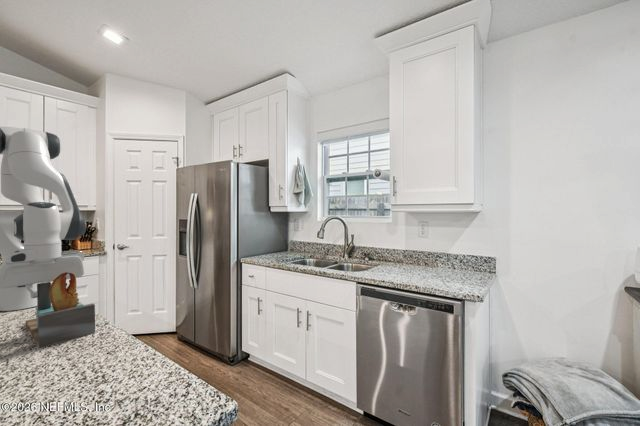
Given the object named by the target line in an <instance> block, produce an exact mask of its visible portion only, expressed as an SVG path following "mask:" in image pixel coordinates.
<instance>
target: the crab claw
mask: <svg viewBox="0 0 640 426" xmlns="http://www.w3.org/2000/svg"><path fill="white" fill-rule="evenodd" d="M67 274H69V275H70V279H67V278H66V275H67ZM67 280H68V282H69V284H68V283H67ZM49 294H50V300H51V306H52V307H53V310H54V311H59V310H64V309H69V308H73V307H77V304H79V303H78V301H80V298H79V295H78V292H77V278H76V277H75V275H74V274H73V273H68V272H66V273H62V274H61V275H59V276H58V277H57V278H56V279H55V280H54V281H51V287H50V291H49Z"/></svg>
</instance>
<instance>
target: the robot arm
mask: <svg viewBox="0 0 640 426" xmlns="http://www.w3.org/2000/svg"><path fill="white" fill-rule="evenodd" d="M61 151H62V143H61V141H60V138H59V137H58V135H56V134H54V133H51V132H48V131H41V130H36V129H32V128H31V129H30V128H25V127H24V128H22V127H21V128H20V127H14V126H13V127H11V126H0V155H1V156H2V159H1V163H0V193H1V194H2V196H3V197H4V198H5V199H8V200H9V201H13V202H15V203H16V202H17V203H19V204H21V205H22V206H23V209H9V210H7V209H4V210H3V209H0V256H1V264H0V312H8V311H9V312H10V311H11V312H12V311H18V310H24V309H29V308H34V307H37V297H38V292H37V284H39V283H45V282H50V283H51V282H53V281H54V280H55V279H56V278H57V277H58V276H59V275H61V274H62V273H66V272H68V273H73V274H74V275H75V277H76V279H77V278H81V277H83V276H84V274H85V267H84V260H85V253H84V252H83V251H80V250H78V249H73V250H62V240H64V241H74V240H75V241H76V240H78V239H79V238H80V237H82V236H83V235H84V234H85V233H86V231H87V223H86V220H85V217H84V215H83V213H82V212H81V210H80V208H79V205H78V203H77V201H76V198H75V196H74V194H73V190H72V188H71V186H70V184H69V182H68V180H67V179H68V178H66V176H65V175H64V174H63V173H62V172H60V171H58V170H57V169H56V168H55V167H54V166H53V164H52V162H51V160H53V159H55V158H57V157H59V156H60V154H61V153H62V152H61ZM41 189H44V190H46V191H49V192H51V193H53V194H54V195H55V196H56V197H57V199H58V202H59V204H60V207H61V209H62V212H60V211H59V210H60V209H59V206H58V205H57V204H56V203H53V202H46V201H45V200H44V199H43V196H42V193H41V192H42V191H41ZM21 241H24V242H21ZM66 278H67V279H66V280H70V275H69V274H67V275H66Z"/></svg>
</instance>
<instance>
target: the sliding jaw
mask: <svg viewBox="0 0 640 426" xmlns="http://www.w3.org/2000/svg"><path fill="white" fill-rule="evenodd" d="M51 284H52V282H51V281H50V282H45V283H39V284H37V292H38V297H37V306H36V307H37V308H36V312H35V313H36V318H37V328H38V315H40V314H45V313H50V312H54V310H53V307H52V303H51V300H50V294H49V291H50V287H51ZM78 303H79V304H77V307H78V306H83V305H84V304H83V303H81V302H80V300H78ZM36 318H35V319H36Z"/></svg>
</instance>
